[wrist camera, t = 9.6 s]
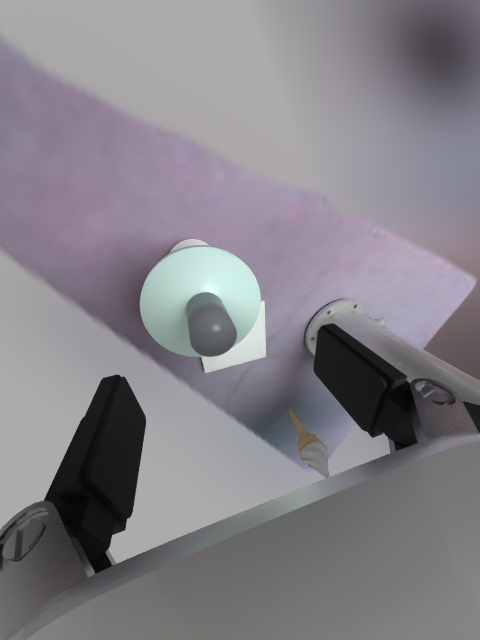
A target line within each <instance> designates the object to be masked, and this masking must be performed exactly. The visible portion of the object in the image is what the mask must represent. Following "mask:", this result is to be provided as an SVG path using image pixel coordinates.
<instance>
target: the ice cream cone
mask: <svg viewBox="0 0 480 640" xmlns="http://www.w3.org/2000/svg"><path fill="white" fill-rule="evenodd" d="M288 412H289V414H290V417H291V419H292V421H293V424H294V426H295V429H296V431H297V433H298V435H299V442H298V446H299V451H300V457H301V460H302V462H303V463H306V464H308V466H309V467H311V468H313V469H314V470H316V471H318V472H319V473H321V474H322V475H323V476H324V477H326V478H329V472H328V457H327V456H328V453H327V446H326V445H325V444H324V443H323V442H322V441H320V440H319V439H318V438H317V437H316V436H315V435H313V434H310V433H308V432H307V431H306V430H305V428H304V427H303V425H302V424H301V423H300V421H299V420H298V418H297V417H296V416H295V414H294V413H293V412H292V410H291V409H290V408H288Z"/></svg>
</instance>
